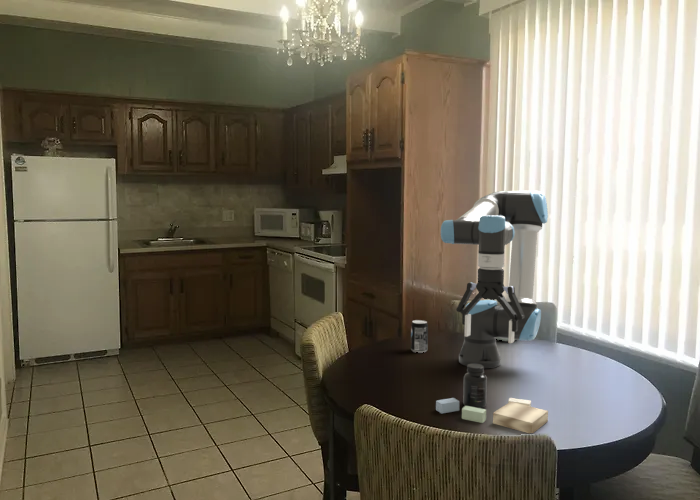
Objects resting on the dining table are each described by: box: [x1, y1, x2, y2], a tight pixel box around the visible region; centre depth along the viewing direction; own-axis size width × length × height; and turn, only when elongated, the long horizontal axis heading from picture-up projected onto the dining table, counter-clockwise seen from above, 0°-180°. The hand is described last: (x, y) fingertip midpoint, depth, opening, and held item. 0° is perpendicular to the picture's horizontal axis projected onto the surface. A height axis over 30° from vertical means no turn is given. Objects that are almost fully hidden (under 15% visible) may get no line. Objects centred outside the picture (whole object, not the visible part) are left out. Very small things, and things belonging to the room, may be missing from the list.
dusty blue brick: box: [435, 397, 460, 414], centre depth 166 cm, size 6×3×3 cm, turn 113°
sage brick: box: [461, 405, 487, 424], centre depth 160 cm, size 6×3×3 cm, turn 59°
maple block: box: [492, 402, 549, 434], centre depth 157 cm, size 11×11×3 cm
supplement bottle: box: [462, 363, 488, 409], centre depth 170 cm, size 7×7×12 cm
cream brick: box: [507, 397, 532, 407], centre depth 166 cm, size 6×3×3 cm, turn 66°
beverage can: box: [410, 319, 429, 354], centre depth 229 cm, size 7×7×12 cm
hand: (488, 339), depth 170 cm, fingers open, 13 cm apart
